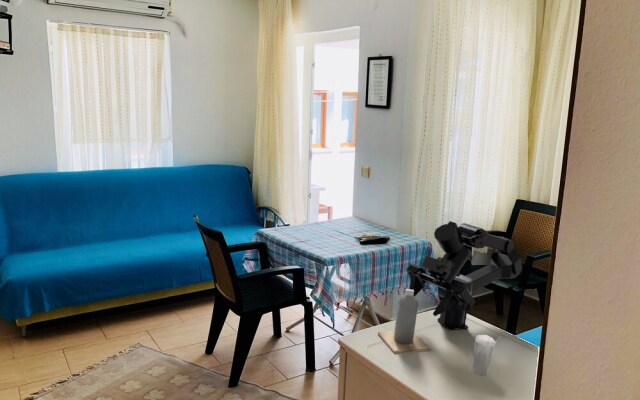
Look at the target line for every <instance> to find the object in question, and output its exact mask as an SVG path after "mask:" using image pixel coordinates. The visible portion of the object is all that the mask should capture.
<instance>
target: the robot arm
mask: <svg viewBox="0 0 640 400" xmlns="http://www.w3.org/2000/svg"><path fill="white" fill-rule="evenodd" d="M433 235H434V238H435V239H436V243H438V245H439V246H440V248H441V250H442V252H444V254H443V255H442V257H441V256H438V257H437V258H435V257H432V256H429V255H427V254H426V255H425V256H424V258H423V261H422V263H421V265H420V266H419V265H416V264H415V263H410V264H408V266H407V268H406V269H405V271H406V273H407V276H408V277H409V280H410V281H409V287H408V289H410V290H414V294H413V296H414V297H415V298H416V296H417V295H418V294H419V293H420V292H421V290H423V288H424V285H425V284H426V283H429V284H432V285H433V286H435V287H437V294H438V301H439V303H438V304H437V306H436V307H435V308H434V311H433V313H432V315H433V316H434V317H437V316H439V317H438V318H437V321H438V322H439V323H440V324H441V325H442V326H443V327H445V328H446V329H447V330H448V331H451V330H466V329H469V325H468V324H466V322H467V316H468V315H467V314H468V312H471V310H472V309H473V308H474V306H475V303H476V300H475V299H474V297H473V295H472V293H474V292H475V291H478V290H479V289H481V288H483V287H485V286H487V285H489V284H491V283H494V282H495V281H497V280H500V279H509V280H510V279H514V278H517V277H518V276H519V275H520V274H521V273H522V271H523V263H522V256H521V255H520V254H519V252H518V251H517V250H516V248H515V244H514V241H513V240H511V239H510V238H506V237H502V236H497V235H494V234H493V235H492V234H489V232H488V231H487V230H486V229H484V228H482V227H478V226H474V225H471V224H468V223H465V222H463V223H460V226H459V225H458V224H457V222H454V221H451V220H450V221H448V222H447V223H446V224H445V223H444V224H441V225H440V226H439V227H437V228H436V229H435V231H434V234H433ZM469 247H470V248H474V249H484V248H485V247H486V248H490V249H493V250H492V251H491V253H490V254H489V257H490V263H489V264H488V265H485V266H484V267H482V268H478V269H477V270H475V271H473V272H471V273H468V274H466V275H464V274H461V273H460V271H461V270H462V267H464V265H465V263H466V262H467V260H469V261H473V255H472V249H471V250H470V249H469ZM499 251H501V252H504V253H505V254H504V253H499ZM424 268H426V271H427V272H428V273H429V274H427V273H426V271H425V269H424Z"/></svg>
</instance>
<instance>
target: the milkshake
mask: <svg viewBox="0 0 640 400" xmlns="http://www.w3.org/2000/svg"><path fill="white" fill-rule="evenodd" d="M500 337H501V335H499V336H498V337H497V339H496V340H495V339H494V338H493V337H491V336H489V335H488V334H478V335H476V337H475V338H474V350H473V351H474V353H473V362H472V363H473V364H472V371H473V373H474V374H476V375H478V376H487V374H488V372H489V367H490V364H491V359H492V356H493V353H494V350H495V347H496V346H495V345H496V343H497V341H498V340H499V339H500Z"/></svg>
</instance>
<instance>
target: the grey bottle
mask: <svg viewBox="0 0 640 400" xmlns="http://www.w3.org/2000/svg"><path fill="white" fill-rule="evenodd" d="M413 294H414V290H410V289H409V288H405V294H403V295H401V296H400V298H399V299H398V303H397V309H396V317H395V326H394V331H395V332H394V340H395V341H396V342H398V343H400V344H412V343H413V339H414V333H415V329H416V322H417V314H418V307H419V302H418V299H417V298H416V296H415V297H414V296H413Z"/></svg>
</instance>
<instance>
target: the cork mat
mask: <svg viewBox="0 0 640 400" xmlns="http://www.w3.org/2000/svg"><path fill="white" fill-rule="evenodd" d="M394 332H395V330H389V331H388V330H387V331H377V335H378V336H379V337H380V338H381V340H382V341H383V342H384V343H385V345H387V347H388V348H389V349H390V350H391V351H392V353H393V354H397V353H398V354H400V353H402V354H403V353H411V352H412V353H413V352H423V351H426V352H427V351H430V350H431V348H430V347H429V345H428V344H426V342H424V341H423V339H421V337H419V335H418V334H416V332H414V339H413V343H412V344H400V343H398V342H396V341H395V340H394Z"/></svg>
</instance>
